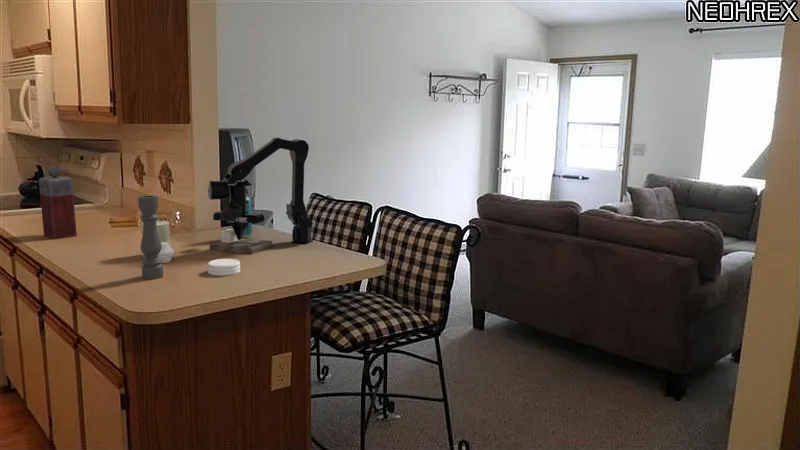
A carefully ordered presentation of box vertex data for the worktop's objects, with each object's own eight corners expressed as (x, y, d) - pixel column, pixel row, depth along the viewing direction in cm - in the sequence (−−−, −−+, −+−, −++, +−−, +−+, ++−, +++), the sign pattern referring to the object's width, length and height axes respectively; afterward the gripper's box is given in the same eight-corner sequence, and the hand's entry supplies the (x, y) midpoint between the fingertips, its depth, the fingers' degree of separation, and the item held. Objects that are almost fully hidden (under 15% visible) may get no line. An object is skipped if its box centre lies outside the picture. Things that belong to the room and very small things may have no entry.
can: (176, 253, 232) (174, 220, 230) (159, 259, 223) (157, 224, 221) (155, 251, 235) (153, 218, 233) (137, 256, 226) (135, 223, 224)
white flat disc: (210, 277, 201) (209, 266, 201) (206, 270, 210) (205, 259, 210) (242, 274, 205) (242, 264, 205) (237, 267, 214) (237, 257, 214)
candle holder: (145, 274, 204) (140, 195, 199) (165, 273, 204) (161, 195, 200) (139, 279, 198) (134, 198, 193) (160, 279, 198) (155, 198, 194)
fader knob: (239, 239, 245) (239, 229, 244) (230, 242, 239) (230, 232, 239) (230, 238, 246) (230, 228, 246) (221, 242, 241) (220, 231, 240)
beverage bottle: (248, 240, 256) (246, 189, 252) (232, 239, 257) (230, 189, 253) (255, 236, 262) (253, 187, 258) (239, 236, 263) (238, 187, 260)
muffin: (156, 264, 216) (155, 244, 214) (154, 260, 221) (153, 240, 220) (176, 262, 218) (175, 242, 217) (173, 259, 224) (172, 239, 222)
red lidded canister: (63, 232, 266) (57, 164, 261) (77, 235, 260) (71, 166, 254) (40, 235, 259) (34, 165, 254) (54, 239, 253) (47, 167, 248)
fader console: (272, 246, 246) (272, 240, 245) (252, 253, 232) (252, 248, 232) (231, 242, 251) (231, 237, 251) (209, 249, 238) (209, 244, 238)
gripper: (203, 199, 234) (205, 242, 237) (248, 202, 228) (249, 246, 231) (221, 195, 244) (222, 236, 247) (264, 198, 239) (265, 240, 241)
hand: (239, 239), depth 241 cm, fingers closed
